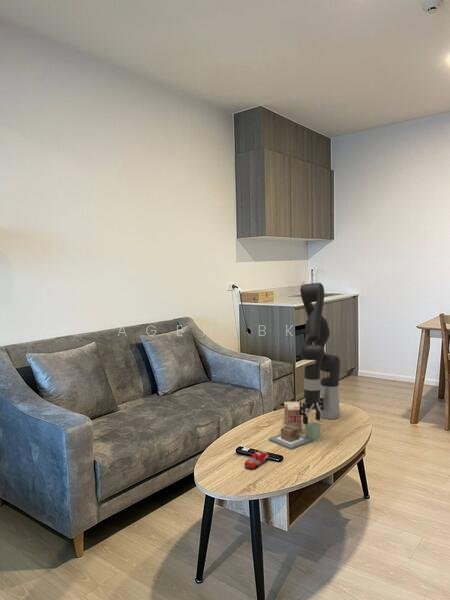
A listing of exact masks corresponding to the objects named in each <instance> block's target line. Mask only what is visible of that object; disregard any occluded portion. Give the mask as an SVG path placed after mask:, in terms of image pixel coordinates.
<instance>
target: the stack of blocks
mask: <svg viewBox="0 0 450 600" xmlns="http://www.w3.org/2000/svg"><path fill="white" fill-rule="evenodd" d="M283 408H284V422H285V425H286V426H288V425H291V426H294V427H297V428H299V434H302V415H300V414H299V411H300V402H298V401H284V402H283Z"/></svg>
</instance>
